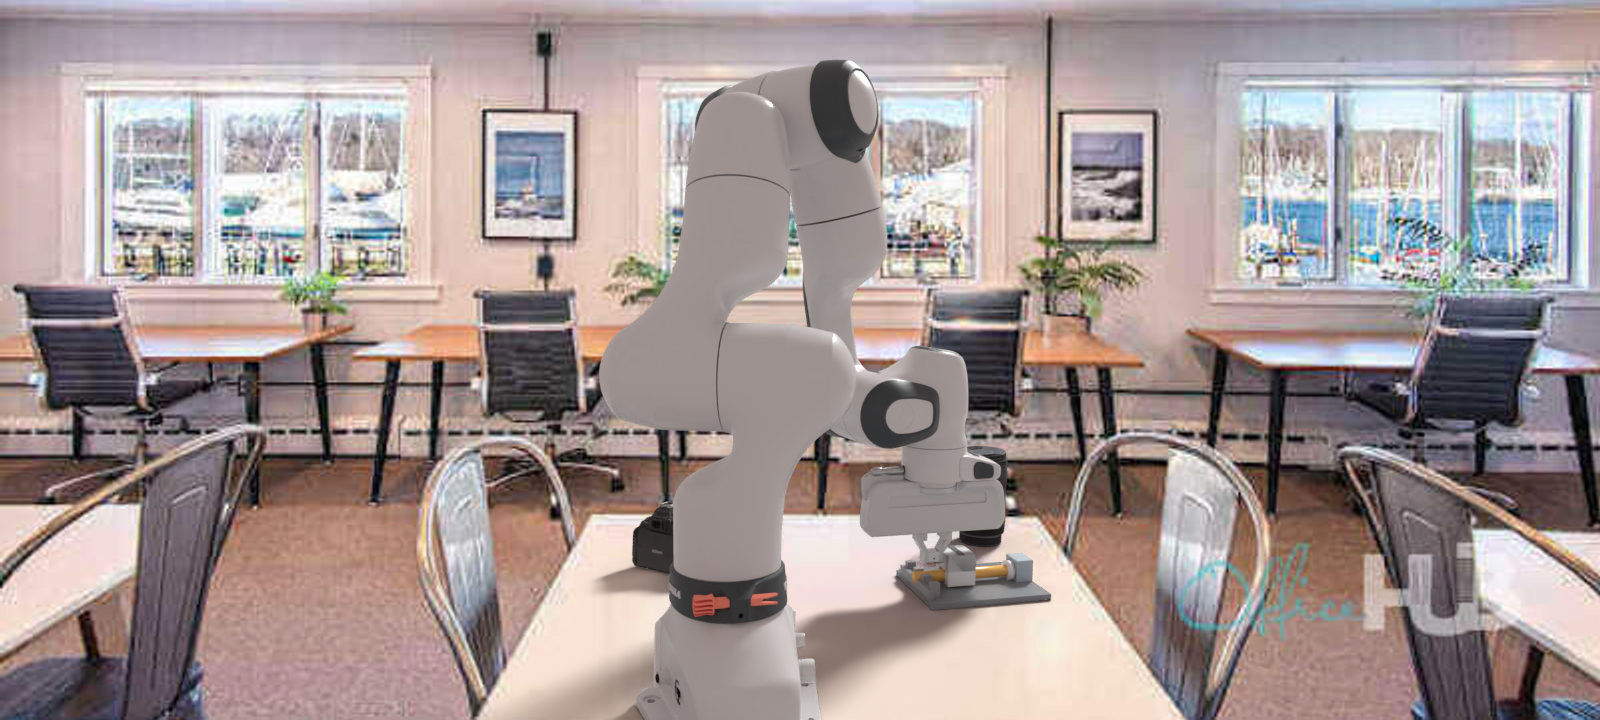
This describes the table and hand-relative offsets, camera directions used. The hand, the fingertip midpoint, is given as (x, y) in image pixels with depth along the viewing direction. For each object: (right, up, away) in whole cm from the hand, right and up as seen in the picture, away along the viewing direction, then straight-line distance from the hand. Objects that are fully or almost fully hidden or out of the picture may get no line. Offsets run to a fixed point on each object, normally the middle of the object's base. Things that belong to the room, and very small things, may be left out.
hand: (931, 562), depth 130 cm
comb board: (+6, -4, +2) cm, 7 cm away
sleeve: (+3, -3, +1) cm, 4 cm away
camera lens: (+11, -2, +23) cm, 26 cm away
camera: (-36, -3, +9) cm, 37 cm away
